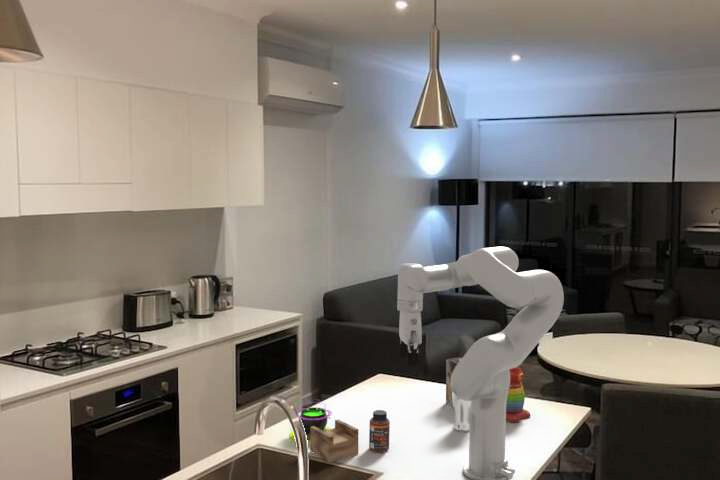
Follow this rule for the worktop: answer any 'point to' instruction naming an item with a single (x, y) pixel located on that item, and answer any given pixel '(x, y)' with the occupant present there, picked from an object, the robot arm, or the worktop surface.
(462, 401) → the white cylindrical cup
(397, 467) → the worktop surface
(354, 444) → the pedestal
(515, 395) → the stacking bear
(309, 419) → the toy cauldron
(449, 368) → the coffee box
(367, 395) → the worktop surface
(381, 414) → the supplement bottle
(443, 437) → the worktop surface
